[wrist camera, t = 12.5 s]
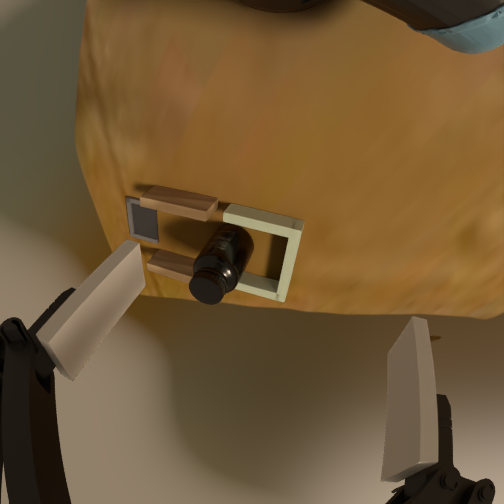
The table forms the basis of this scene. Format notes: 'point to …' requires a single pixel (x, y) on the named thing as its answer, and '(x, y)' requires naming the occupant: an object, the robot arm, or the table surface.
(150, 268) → the channel
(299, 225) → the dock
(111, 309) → the robot arm
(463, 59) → the table surface
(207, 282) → the supplement bottle
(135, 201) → the mat
